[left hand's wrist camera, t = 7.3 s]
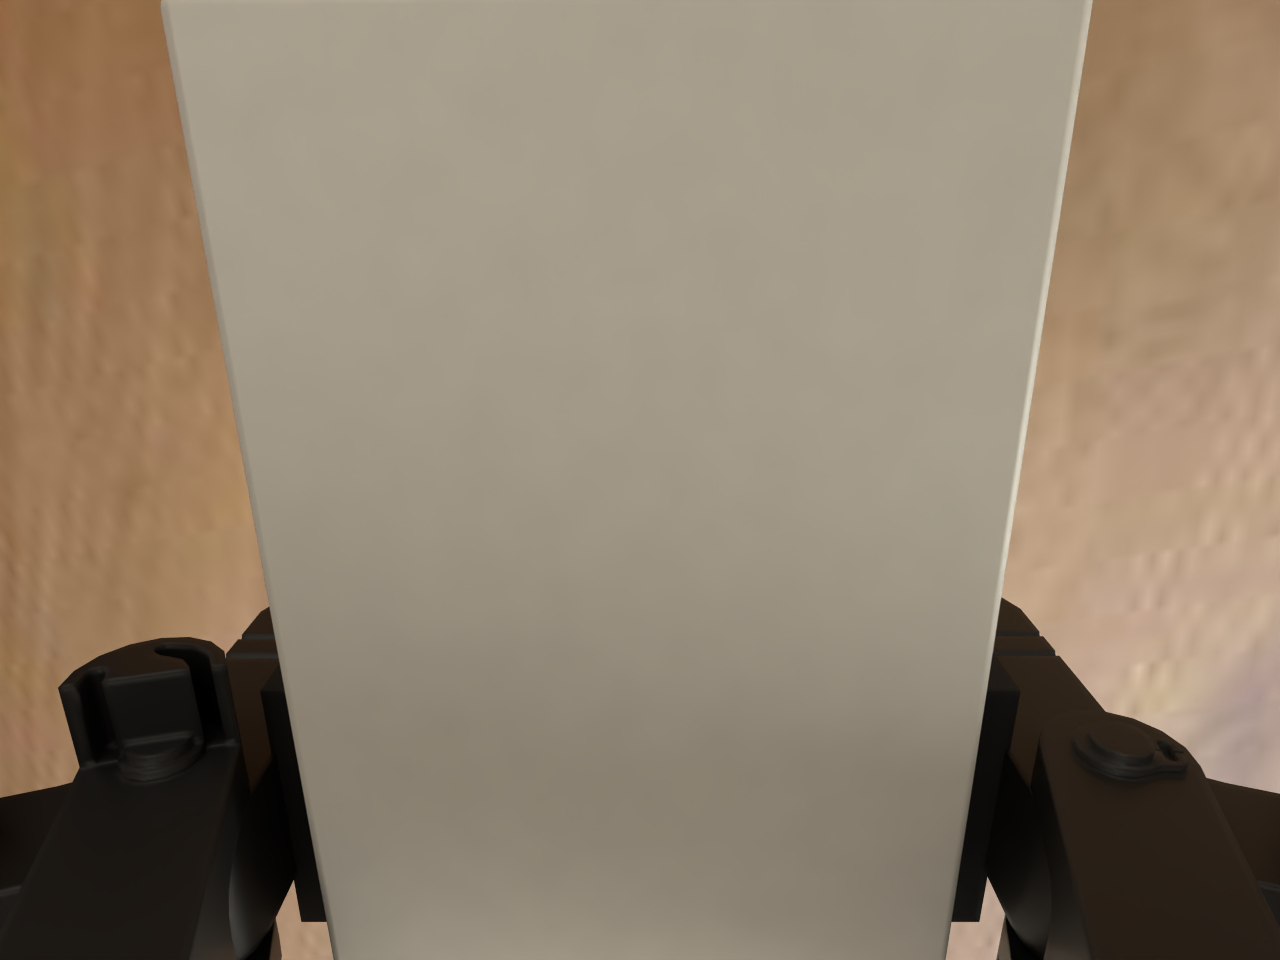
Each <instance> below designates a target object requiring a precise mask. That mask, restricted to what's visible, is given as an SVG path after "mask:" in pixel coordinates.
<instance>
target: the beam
mask: <svg viewBox="0 0 1280 960" xmlns="http://www.w3.org/2000/svg"><path fill="white" fill-rule="evenodd" d="M1092 4H1093V0H161V14H162V20H163V25H164V31H165V36H166V42H167V47H168V53H169V58H170V64H171V69H172V75H173V80H174V86H175V91H176V97H177V102H178V108H179V113H180V119H181V124H182V130H183V135H184V141H185V146H186V152H187V157H188V163H189V168H190V174H191V179H192V184H193V190H194V195H195V201H196V206H197V212H198V217H199V223H200V228H201V234H202V239H203V245H204V250H205V256H206V261H207V267H208V272H209V278H210V283H211V289H212V294H213V300H214V305H215V311H216V316H217V322H218V327H219V333H220V338H221V344H222V349H223V355H224V360H225V366H226V371H227V376H228V382H229V387H230V393H231V398H232V404H233V409H234V415H235V420H236V426H237V431H238V437H239V442H240V448H241V453H242V459H243V464H244V470H245V475H246V481H247V486H248V492H249V497H250V503H251V508H252V514H253V519H254V525H255V530H256V536H257V541H258V547H259V552H260V558H261V563H262V568H263V574H264V579H265V585H266V590H267V596H268V601H269V607H270V612H271V618H272V623H273V629H274V634H275V640H276V645H277V651H278V656H279V662H280V667H281V673H282V678H283V684H284V689H285V695H286V700H287V706H288V711H289V717H290V722H291V728H292V733H293V739H294V744H295V750H296V755H297V761H298V766H299V771H300V777H301V782H302V788H303V793H304V799H305V804H306V810H307V815H308V821H309V826H310V832H311V837H312V843H313V848H314V854H315V859H316V865H317V870H318V876H319V881H320V887H321V892H322V898H323V903H324V909H325V914H326V920H327V925H328V931H329V936H330V942H331V947H332V953H333V958H334V960H945V959H946V953H947V946H948V940H949V933H950V927H951V920H952V914H953V907H954V901H955V894H956V888H957V881H958V875H959V868H960V862H961V855H962V849H963V842H964V836H965V829H966V823H967V816H968V810H969V803H970V797H971V790H972V784H973V777H974V771H975V764H976V758H977V751H978V745H979V738H980V732H981V725H982V719H983V712H984V706H985V699H986V693H987V686H988V680H989V673H990V667H991V660H992V654H993V647H994V641H995V634H996V628H997V621H998V615H999V608H1000V602H1001V595H1002V589H1003V582H1004V576H1005V569H1006V563H1007V556H1008V550H1009V543H1010V537H1011V530H1012V524H1013V517H1014V511H1015V504H1016V498H1017V491H1018V485H1019V478H1020V472H1021V465H1022V459H1023V452H1024V446H1025V439H1026V433H1027V426H1028V420H1029V413H1030V407H1031V400H1032V394H1033V387H1034V381H1035V374H1036V368H1037V361H1038V355H1039V348H1040V342H1041V335H1042V329H1043V322H1044V316H1045V309H1046V303H1047V296H1048V290H1049V283H1050V277H1051V270H1052V264H1053V257H1054V251H1055V244H1056V238H1057V231H1058V225H1059V218H1060V212H1061V205H1062V199H1063V192H1064V186H1065V179H1066V173H1067V166H1068V160H1069V153H1070V147H1071V140H1072V134H1073V127H1074V121H1075V114H1076V108H1077V101H1078V95H1079V88H1080V82H1081V75H1082V69H1083V62H1084V56H1085V49H1086V43H1087V36H1088V30H1089V23H1090V17H1091V10H1092Z"/></svg>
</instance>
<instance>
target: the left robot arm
mask: <svg viewBox="0 0 1280 960" xmlns="http://www.w3.org/2000/svg"><path fill="white" fill-rule="evenodd" d="M58 690H59V693H60V697H61V700H62V704H63V708H64V711H65V715H66V719H67V722H68V726H69V730H70V733H71V737H72V741H73V744H74V748H75V752H76V755H77V759H78V762H79V766H80V768H79V770H78V772H77V774H76V776H75V778H74V780H73V782H72V783H68V784H64V785H61V786H57V787H52V788H47V789H42V790H37V791H32V792H27V793H22V794H17V795H12V796H7V797H2V798H0V960H281V958H282V953H281V946H280V939H279V933H278V928H277V923H276V916H277V914H278V912H279V910H280V908H281V905H282V903H283V901H284V899H285V897H286V895H287V893H288V891H289V889H290V886H291V884H292V882H293V880H294V883H295V888H296V894H297V900H298V905H299V911H300V916H301V922H327V920H326V914H325V909H324V903H323V898H322V892H321V887H320V881H319V876H318V870H317V865H316V859H315V854H314V848H313V843H312V837H311V832H310V826H309V821H308V815H307V810H306V804H305V799H304V793H303V788H302V782H301V777H300V771H299V766H298V761H297V755H296V750H295V744H294V739H293V733H292V728H291V722H290V717H289V711H288V706H287V700H286V695H285V689H284V684H283V678H282V673H281V667H280V662H279V656H278V651H277V645H276V640H275V634H274V629H273V623H272V618H271V612H270V607H268V608H266V609H265V610H263V611H261V612H260V613H259V615H258V616H257V617H256V618H255V620H254V621H253V622H252V623H251V624H250V626H249V627H248V628H247V629H246V631H245V632H244V633H243V634H242V639H238V640H237V642H236V643H235V644H234V645H233V646H232V648H231V649H230V650H229V651H228V652H227V654H226V658H225V653H224V651H223V650H222V649H220V648H219V647H218V646H216V645H215V644H214V643H212V642H211V641H206V640H201V639H196V638H191V637H179V638H159V639H154V640H150V641H145V642H140V643H135V644H130V645H127V646H125V647H122V648H119V649H117V650H114V651H111V652H109V653H106V654H103V655H101V656H99V657H97V658H95V659H93V660H92V661H90V662H88V663H87V664H85V665H83V666H82V667H80V668H78V669H77V670H75V671H74V672H73V673H72V674H71V675H70V676H69V677H68V678H67V679H66V680H65V681H64V682H63V683H62V684H61V685H60V686H59V687H58ZM987 876H988V878H989V880H990V883H991V885H992V887H993V889H994V891H995V893H996V895H997V897H998V899H999V901H1000V904H1001V906H1002V908H1003V910H1004V912H1005V918H1004V923H1003V928H1002V933H1001V938H1000V944H999V949H998V954H997V959H996V960H1280V794H1278V793H1273V792H1268V791H1263V790H1258V789H1253V788H1248V787H1243V786H1238V785H1233V784H1228V783H1224V782H1220V781H1216V780H1212V779H1208V778H1206V777H1205V775H1204V772H1203V770H1202V768H1201V766H1200V765H1199V764H1198V763H1197V761H1196V760H1195V759H1194V758H1193V756H1192V755H1191V754H1190V753H1189V751H1188V750H1187V749H1186V748H1185V747H1184V746H1182V745H1181V744H1180V743H1178V742H1177V741H1175V740H1174V739H1172V738H1171V737H1170V736H1168V735H1167V734H1165V733H1164V732H1162V731H1160V730H1158V729H1156V728H1154V727H1151V726H1149V725H1147V724H1144V723H1142V722H1140V721H1137V720H1135V719H1133V718H1129V717H1125V716H1120V715H1116V714H1112V713H1108V712H1105V711H1104V709H1103V708H1102V707H1101V706H1100V705H1099V703H1098V702H1097V701H1096V700H1095V698H1094V697H1093V696H1092V695H1091V694H1090V692H1089V691H1088V690H1087V689H1086V688H1085V686H1084V685H1083V684H1082V683H1081V682H1080V680H1079V679H1078V678H1077V677H1076V675H1075V674H1074V673H1073V672H1072V671H1071V669H1070V668H1069V667H1068V666H1067V665H1066V663H1065V662H1064V661H1063V660H1062V659H1061V657H1060V656H1056V655H1055V650H1054V649H1053V648H1052V646H1051V645H1050V644H1049V643H1048V642H1047V640H1046V639H1045V638H1044V637H1043V636H1040V635H1039V631H1038V630H1037V628H1036V627H1035V626H1034V625H1033V624H1032V622H1031V621H1030V620H1029V619H1028V617H1027V616H1026V615H1025V614H1024V613H1023V611H1022V610H1021V609H1020V608H1018V607H1016V606H1015V605H1013V604H1012V603H1010V602H1008V601H1007V600H1005V599H1003V598H1002V597H1001V602H1000V608H999V615H998V621H997V628H996V634H995V641H994V647H993V654H992V660H991V667H990V673H989V680H988V686H987V693H986V699H985V706H984V712H983V719H982V725H981V732H980V738H979V745H978V751H977V758H976V764H975V771H974V777H973V784H972V790H971V797H970V803H969V810H968V816H967V823H966V829H965V836H964V842H963V849H962V855H961V862H960V868H959V875H958V881H957V888H956V894H955V901H954V907H953V914H952V920H951V922H979V920H980V915H981V909H982V904H983V898H984V892H985V887H986V881H987Z"/></svg>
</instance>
